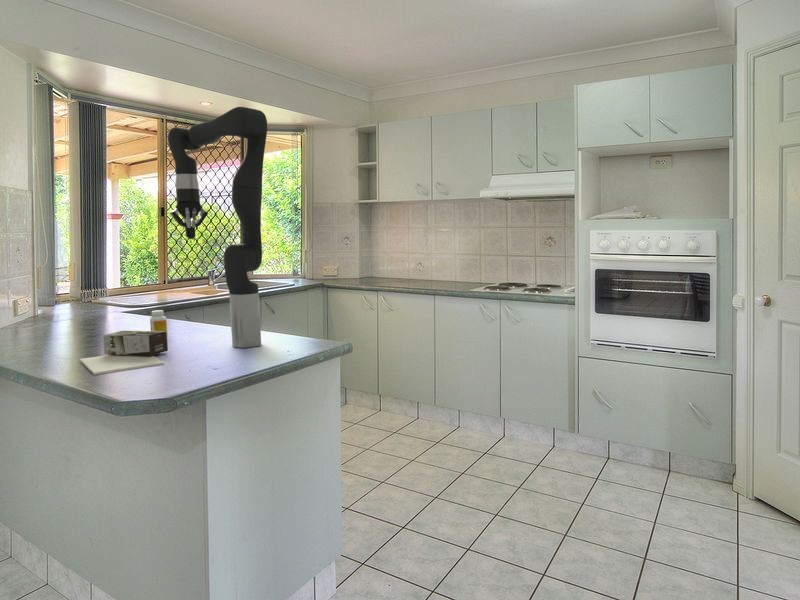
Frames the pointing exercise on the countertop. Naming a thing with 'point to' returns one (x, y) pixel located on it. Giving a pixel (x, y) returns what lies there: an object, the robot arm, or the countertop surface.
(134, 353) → the coffee box
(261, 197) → the robot arm
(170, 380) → the countertop surface
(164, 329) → the supplement bottle
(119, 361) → the cream board
